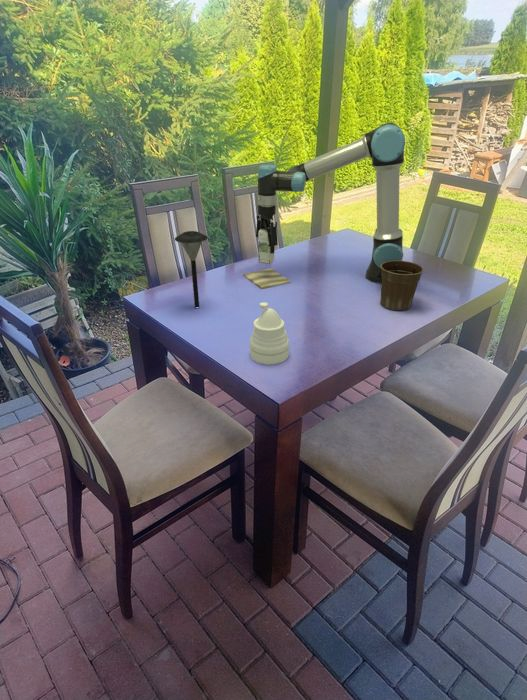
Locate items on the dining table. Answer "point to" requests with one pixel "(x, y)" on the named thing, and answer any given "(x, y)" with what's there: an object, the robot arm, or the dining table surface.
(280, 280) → the birch board
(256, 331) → the honey pot
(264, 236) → the syrup box
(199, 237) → the solar garden light
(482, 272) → the dining table surface
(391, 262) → the plant pot
